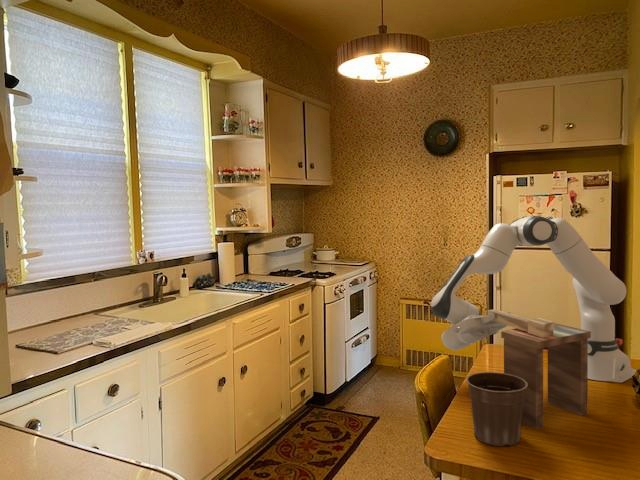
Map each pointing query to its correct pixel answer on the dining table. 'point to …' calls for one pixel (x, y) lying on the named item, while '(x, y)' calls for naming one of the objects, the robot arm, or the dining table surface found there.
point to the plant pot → (497, 407)
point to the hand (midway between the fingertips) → (500, 314)
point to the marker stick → (525, 323)
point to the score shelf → (549, 369)
